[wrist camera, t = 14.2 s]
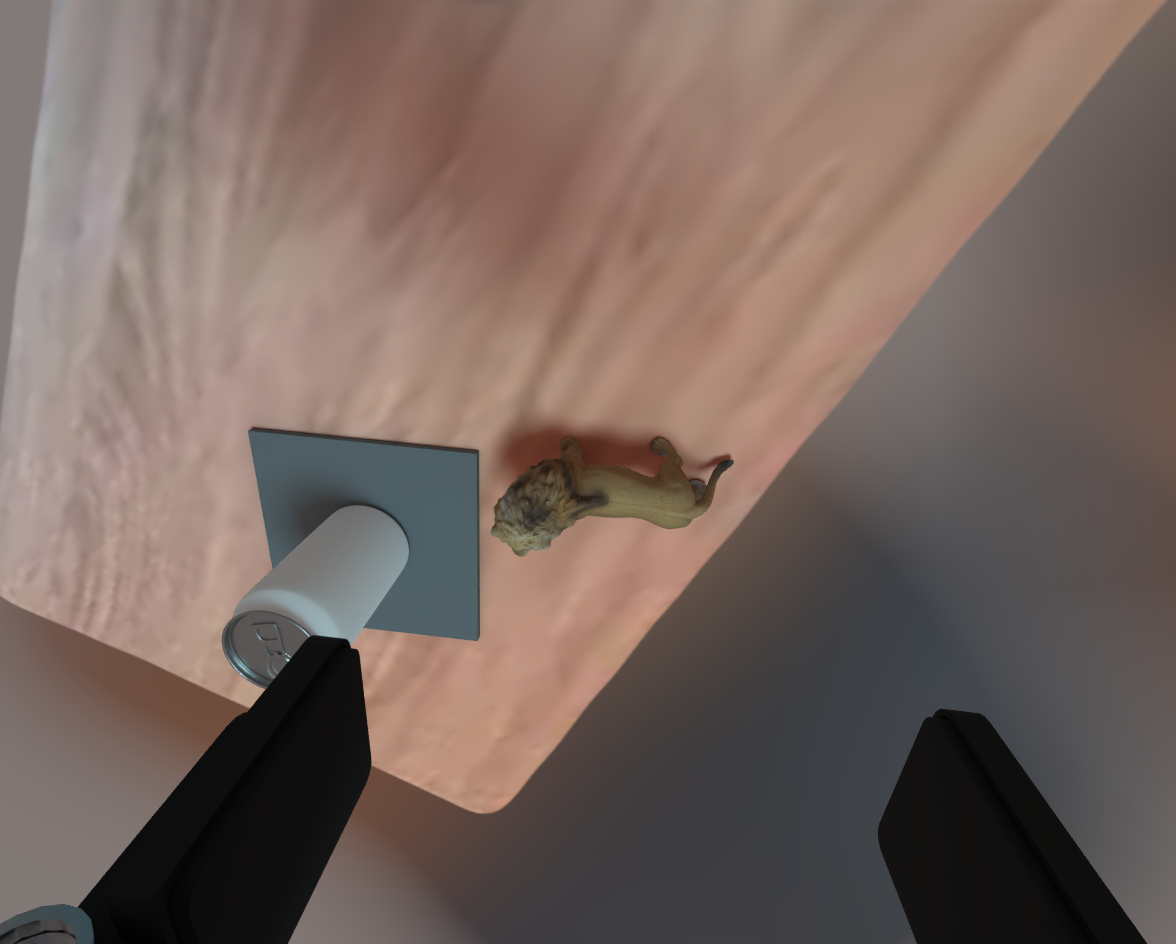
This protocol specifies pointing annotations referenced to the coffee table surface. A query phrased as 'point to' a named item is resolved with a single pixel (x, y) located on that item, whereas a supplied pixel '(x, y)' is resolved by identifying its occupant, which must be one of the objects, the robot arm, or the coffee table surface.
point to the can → (316, 591)
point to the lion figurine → (597, 496)
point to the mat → (399, 489)
